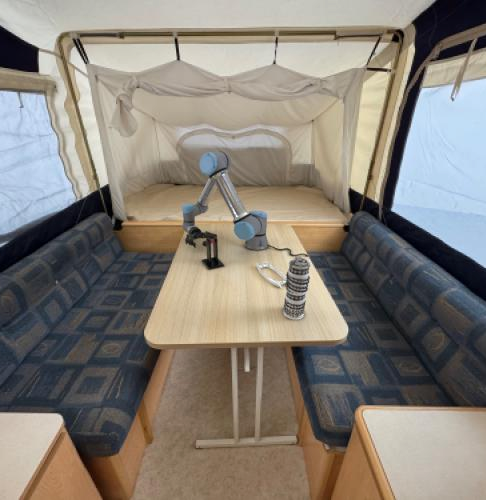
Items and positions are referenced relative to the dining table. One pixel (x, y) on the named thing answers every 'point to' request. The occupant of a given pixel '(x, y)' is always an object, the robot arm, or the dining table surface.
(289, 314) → the decorative candle
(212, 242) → the lever
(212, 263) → the bracket
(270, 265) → the door handle
